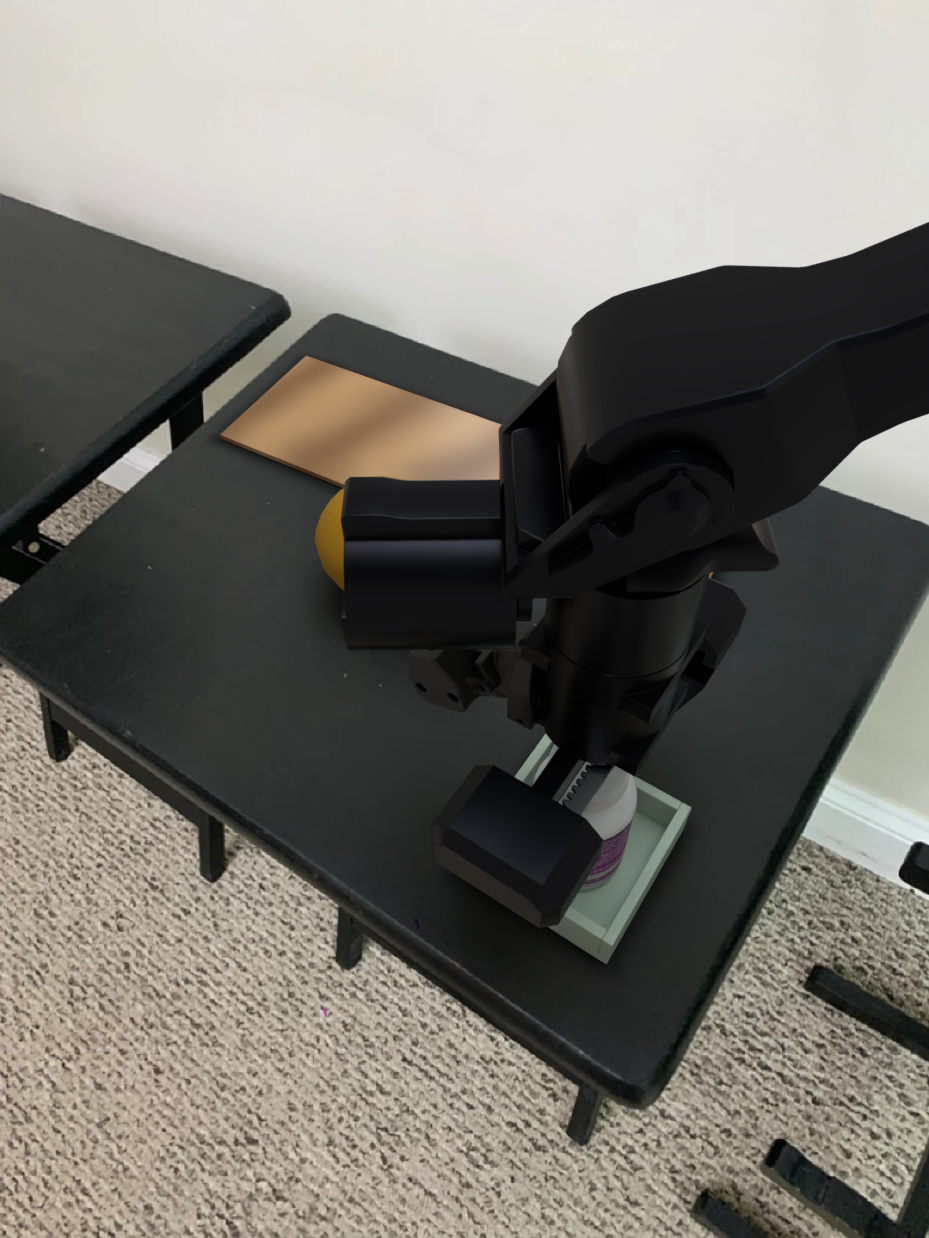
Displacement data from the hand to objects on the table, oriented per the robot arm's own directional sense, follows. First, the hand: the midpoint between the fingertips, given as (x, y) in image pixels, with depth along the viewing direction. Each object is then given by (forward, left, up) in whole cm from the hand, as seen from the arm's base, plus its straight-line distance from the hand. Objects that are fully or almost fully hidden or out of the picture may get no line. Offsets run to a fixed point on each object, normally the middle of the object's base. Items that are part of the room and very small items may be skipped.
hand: (584, 804), depth 48 cm
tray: (0, 0, -6) cm, 6 cm away
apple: (+23, -3, -6) cm, 24 cm away
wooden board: (+28, -15, -6) cm, 32 cm away
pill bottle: (0, 0, -6) cm, 6 cm away
